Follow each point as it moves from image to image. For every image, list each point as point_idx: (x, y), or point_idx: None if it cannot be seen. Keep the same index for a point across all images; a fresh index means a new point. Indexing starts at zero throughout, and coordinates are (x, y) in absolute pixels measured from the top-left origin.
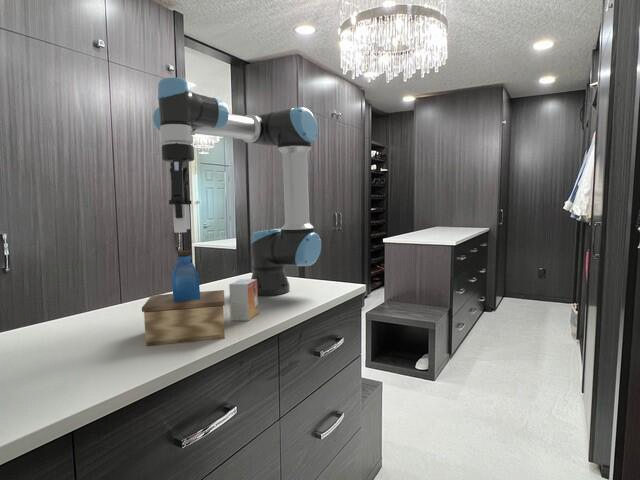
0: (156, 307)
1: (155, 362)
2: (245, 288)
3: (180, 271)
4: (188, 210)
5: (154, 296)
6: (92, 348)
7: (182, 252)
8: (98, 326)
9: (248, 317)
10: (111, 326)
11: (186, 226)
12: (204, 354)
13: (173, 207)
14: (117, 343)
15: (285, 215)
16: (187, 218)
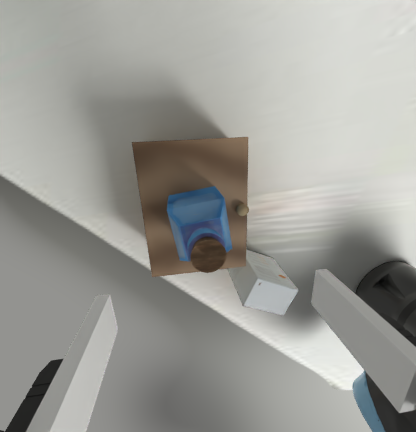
0: (136, 169)
1: (71, 172)
2: (242, 297)
3: (176, 229)
4: (370, 372)
5: (234, 146)
6: (148, 52)
7: (190, 255)
8: (284, 20)
9: (229, 271)
10: (274, 50)
11: (319, 299)
12: (95, 228)
13: (39, 414)
14: (166, 92)
15: None
16: (341, 330)
